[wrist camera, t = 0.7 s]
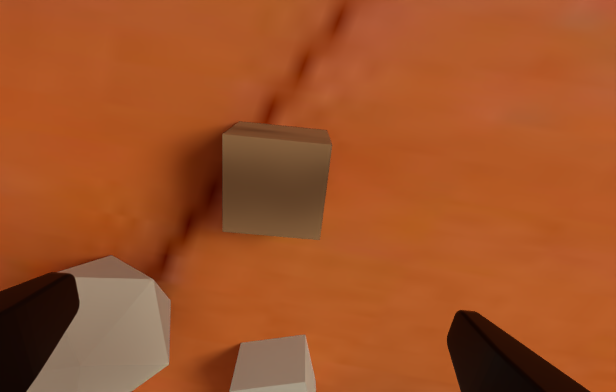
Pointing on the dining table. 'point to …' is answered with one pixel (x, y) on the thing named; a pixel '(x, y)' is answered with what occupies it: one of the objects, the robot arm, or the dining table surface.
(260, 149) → the walnut block
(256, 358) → the grey block
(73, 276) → the robot arm
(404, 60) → the dining table surface
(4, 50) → the dining table surface
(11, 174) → the dining table surface
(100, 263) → the pale faceted polyhedron
